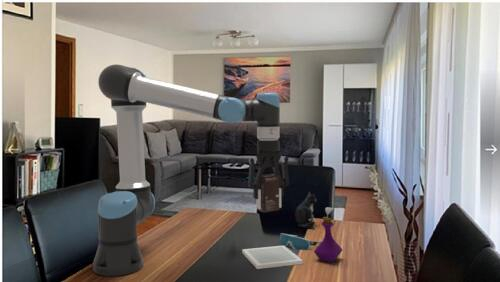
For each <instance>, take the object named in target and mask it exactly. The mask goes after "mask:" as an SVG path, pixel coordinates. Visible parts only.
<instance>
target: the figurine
mask: <svg viewBox="0 0 500 282" xmlns="http://www.w3.org/2000/svg"><path fill="white" fill-rule="evenodd" d="M315 195H316V193H313V194H312V193H311V191H308V193H307V196H306V198H305V199H304V200H303V201H302V202H301V203H300V204H298V206H296V209H295V213H294V214H295V221H296V222H297V224H298V225H297V226H298V227H299V228H301V229H309V230H310V229H314V228H315V224H316V222H315V221H314V217H315V215H314V214H313V212H314V204H315V203H316V202H317V199H316V198H317V197H316V196H315Z"/></svg>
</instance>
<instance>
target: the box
mask: <svg viewBox="0 0 500 282" xmlns="http://www.w3.org/2000/svg"><path fill="white" fill-rule="evenodd" d="M258 189H260V190H261V209H258V211H259V212H261V213H269V212H273V211H274V212H275V211H279V210H280V208H279V176H277V175H275V174H274V173H270V174H268V173H267V174H263V176H262V179H261V182H260V185H259V188H258Z"/></svg>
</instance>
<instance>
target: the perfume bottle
mask: <svg viewBox="0 0 500 282" xmlns="http://www.w3.org/2000/svg"><path fill="white" fill-rule="evenodd" d="M324 209H325V210H324V211H325V213H326V215H327V216H323V217H322V220H323V221H321V222H320V224H321V225H322V226H323V228H324V230H325V231H324V232H325V233H324V236H323V239H322V241H321V243H320V244H319V245H318V246H317V247H316V248H315V249H314V250H313V253H314V254H315V256H316V257H317V258H318V260H320V262H325V263H330V264H331V263H334V262H335V261H336V259H338V257H339V255H340V254H341V253H342V251H343V248H342V247H341V246H340V245H339V244H338V242H337V241H336V239H334V237H333V235H332V231H331V230H332V229H331V228H332V227H333V226H334V222H333V220H332V218H331V217H329V215H330V214H331V213H333V212H334V210H335V208H333V207H331V206H330V207H328V206H327V207H325V208H324Z"/></svg>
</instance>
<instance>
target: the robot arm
mask: <svg viewBox="0 0 500 282" xmlns="http://www.w3.org/2000/svg"><path fill="white" fill-rule="evenodd" d="M98 87H99V90H100V92H101V93H102V95H104V97H106V98H107V99H109V100H110V104H111V105H110V107H111V109H113V110H114V111H115V114H116V127H117V128H116V129H117V130H116V131H117V149H118V150H117V151H118V166H119V167H118V168H119V169H118V170H119V171H118V172H119V182H118V183H117V184H116V186H115V191H113V192H108V193H106V194H104V195H101V197H100V198H99V200H98V204H97V205H98V207H97V215H98V220H97V221H98V222H97V223H98V246H97V250H96V253H95V256H94V259H93V264H92V271H93V272H94V273H95V274H97V275H100V276H105V277H117V276H124V275H125V276H126V275H130V274H133V273H136V272H138V271H139V270H141V269H142V268H143V266H144V264H143V263H144V257H143V254H142V253H141V252H142V251H141V249H140V247H139V243H138V226H139V225H140V224H141V223H142V222H145V221H146V220H148V219H149V217H150V216H151V215H152V214H153V211H154V210H155V207H156V199H155V196H154V194H153V193H152V192H151V191H152V190H151V183H150V182H148V181H147V180H146V179H147V178H146V166H145V165H146V164H145V144H144V143H145V142H144V141H145V140H144V125H143V123H144V122H143V121H144V120H143V119H144V118H143V111H144V110H145V108H146V107H147V104H151V105H156V106H158V107H159V106H160V107H165V108H168V109H173V110H177V111H182V112H184V113H189V114H194V115H198V116H203V117H206V118H210V119H215V120H219V121H222V122H224V123H228V124H237V123H243V122H244V123H246V122H253V123H254V122H256V137H257V139H258V140H257V141H256V149H257V150H256V152H257V153H256V156H254V157H248V163H249V168H248V178H247V180H248V181H247V186H248V188H250V189H252V190H253V196H252V197H253V199H254V200H255V208H256V209H261V190H260V189H258V188H259V185H260V182H261V179H262V176H263V175H264V173H265V171H266V169H267V168H271V169H272V171H273V174H275V175H277V176H279V209H281V208H282V198H284V196H285V192H284V191H285V188H286V187H288V186H290V178H289V169H288V168H289V167H288V163H289V159H290V158H289V156H285V155H284V156H282V155H281V152H280V151H281V149H280V148H281V144H280V143H281V142H280V140H279V139H280V138H281V137H280V129H281V127H280V122H281V121H280V119H281V115H280V113H281V111H280V109H281V106H280V95H279V94H278V93H276V92H261V93H260V92H259V93H257V95H256V98H252V99H249V98H248V99H247V98H246V99H244V98H242V99H241V98H236V97H233V96H232V97H231V96H228V95H227V96H226V95H223V94H218V93H214V92H210V91H206V90H201V89H197V88H193V87H189V86H185V85H180V84H176V83H173V82H172V83H171V82H167V81H163V80H159V79H155V78H151V77H147V76H146V74H144V72H143V71H141V70H139V69H137V68H135V67H129V66H126V65H122V64H110V65H109V66H106V67H105V68H104V69H103V70H102V71H101V72H100V74H99V77H98ZM279 161H280V163H281V172H282V175H281V172H280V169H279V165H278V163H279ZM257 162H258V163H259V165H258V170H257V173H256V172H255V170H256V164H257ZM255 173H256V176H255Z"/></svg>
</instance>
